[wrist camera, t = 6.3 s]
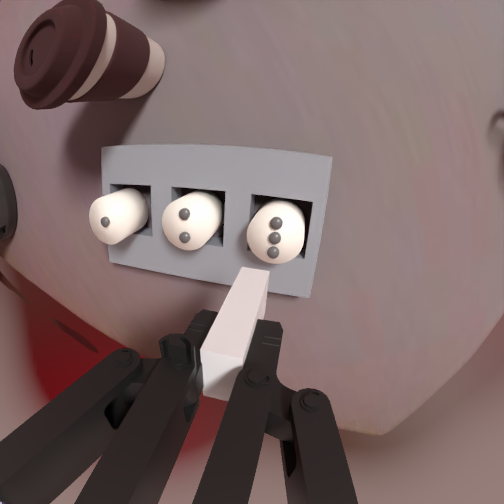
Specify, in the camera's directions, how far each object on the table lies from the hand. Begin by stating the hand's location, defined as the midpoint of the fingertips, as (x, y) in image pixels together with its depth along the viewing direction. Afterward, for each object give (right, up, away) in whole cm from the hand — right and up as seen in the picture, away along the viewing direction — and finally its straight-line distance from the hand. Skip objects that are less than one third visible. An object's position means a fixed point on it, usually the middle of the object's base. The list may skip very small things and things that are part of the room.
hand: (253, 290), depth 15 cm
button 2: (-5, +6, +13) cm, 15 cm away
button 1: (-13, +7, +13) cm, 20 cm away
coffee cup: (-13, +22, +9) cm, 27 cm away
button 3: (+3, +5, +12) cm, 13 cm away
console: (-5, +6, +14) cm, 16 cm away
